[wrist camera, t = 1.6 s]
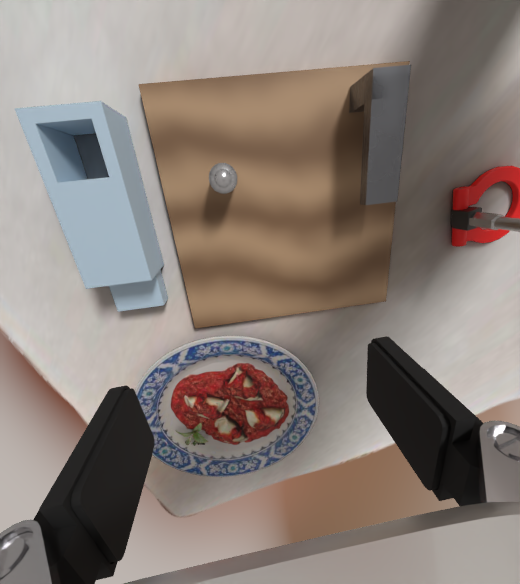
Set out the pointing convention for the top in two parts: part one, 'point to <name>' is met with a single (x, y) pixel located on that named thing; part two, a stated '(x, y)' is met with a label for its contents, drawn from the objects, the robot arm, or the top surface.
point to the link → (99, 200)
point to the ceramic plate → (227, 405)
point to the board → (269, 193)
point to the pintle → (223, 178)
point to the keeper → (381, 130)
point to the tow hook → (471, 219)
